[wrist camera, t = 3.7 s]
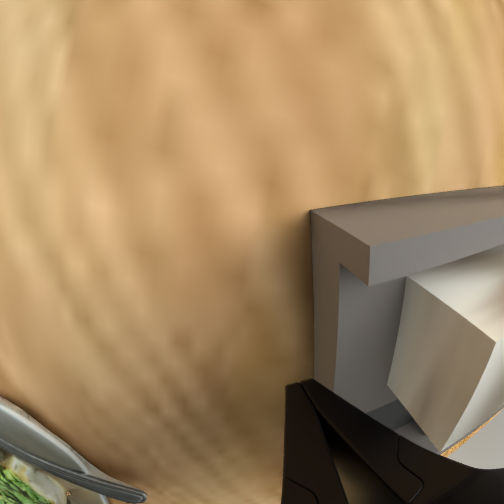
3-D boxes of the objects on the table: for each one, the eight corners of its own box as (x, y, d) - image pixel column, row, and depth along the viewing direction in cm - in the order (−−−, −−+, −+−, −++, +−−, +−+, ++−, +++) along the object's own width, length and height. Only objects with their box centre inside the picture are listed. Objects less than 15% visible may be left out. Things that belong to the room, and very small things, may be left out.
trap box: (549, 182, 13) (592, 197, 9) (502, 365, 19) (529, 389, 15) (310, 209, 10) (383, 254, 6) (309, 466, 16) (331, 514, 12)
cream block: (501, 244, 10) (570, 280, 6) (478, 337, 12) (529, 381, 8) (406, 275, 9) (496, 342, 5) (386, 384, 11) (439, 452, 7)
